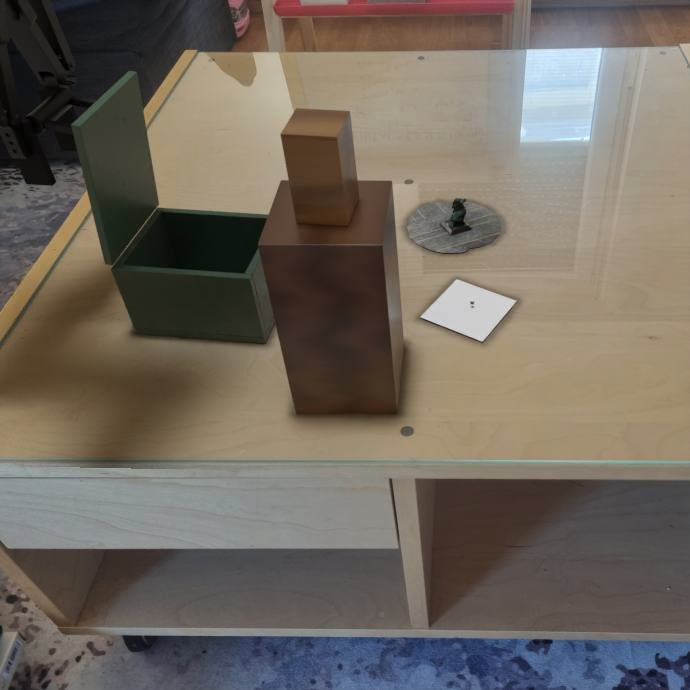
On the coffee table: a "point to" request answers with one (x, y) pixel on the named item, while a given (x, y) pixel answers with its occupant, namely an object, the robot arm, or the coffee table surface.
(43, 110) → the box lid
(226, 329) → the green box
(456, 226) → the sculpture
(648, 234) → the coffee table surface
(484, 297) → the coaster
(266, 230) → the plinth
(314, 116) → the block
